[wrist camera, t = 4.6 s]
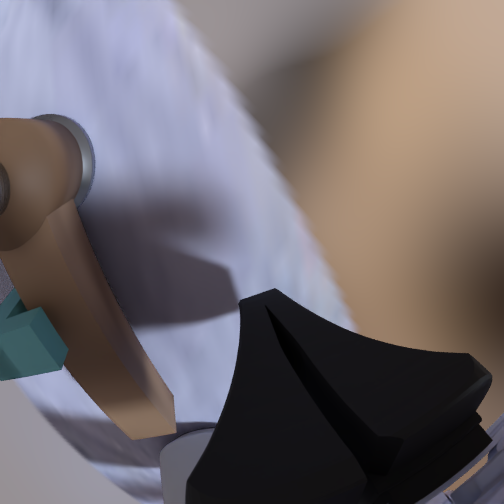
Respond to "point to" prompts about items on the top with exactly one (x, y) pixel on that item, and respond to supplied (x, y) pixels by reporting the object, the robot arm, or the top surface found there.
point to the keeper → (27, 341)
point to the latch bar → (73, 278)
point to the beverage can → (181, 463)
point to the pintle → (1, 178)
